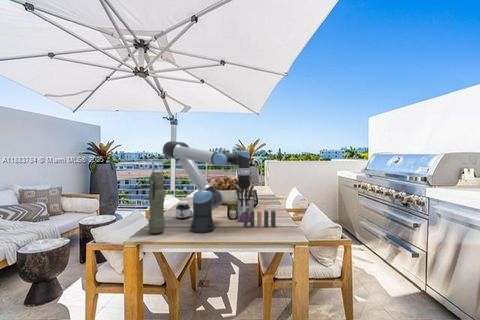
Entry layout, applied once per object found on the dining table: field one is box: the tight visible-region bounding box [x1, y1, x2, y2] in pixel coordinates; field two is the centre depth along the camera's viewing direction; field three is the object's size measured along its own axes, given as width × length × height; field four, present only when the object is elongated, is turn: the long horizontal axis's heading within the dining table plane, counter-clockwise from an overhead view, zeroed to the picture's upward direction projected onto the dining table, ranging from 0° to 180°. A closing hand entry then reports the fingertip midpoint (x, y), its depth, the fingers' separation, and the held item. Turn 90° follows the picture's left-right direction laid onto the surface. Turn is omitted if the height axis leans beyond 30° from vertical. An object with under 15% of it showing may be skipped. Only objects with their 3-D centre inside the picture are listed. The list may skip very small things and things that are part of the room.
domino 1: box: [243, 210, 249, 228], centre depth 160 cm, size 2×5×10 cm, turn 3°
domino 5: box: [270, 209, 277, 228], centre depth 161 cm, size 2×5×10 cm, turn 3°
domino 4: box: [263, 209, 269, 228], centre depth 161 cm, size 2×5×10 cm, turn 3°
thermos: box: [148, 171, 165, 234], centre depth 148 cm, size 9×12×35 cm
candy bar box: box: [236, 196, 255, 223], centre depth 174 cm, size 11×5×16 cm, turn 84°
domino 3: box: [256, 209, 262, 228], centre depth 160 cm, size 2×5×10 cm, turn 3°
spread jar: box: [175, 200, 193, 220], centre depth 183 cm, size 12×11×12 cm
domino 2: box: [249, 209, 255, 228], centre depth 160 cm, size 2×5×10 cm, turn 3°
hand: (244, 211), depth 160 cm, fingers closed
